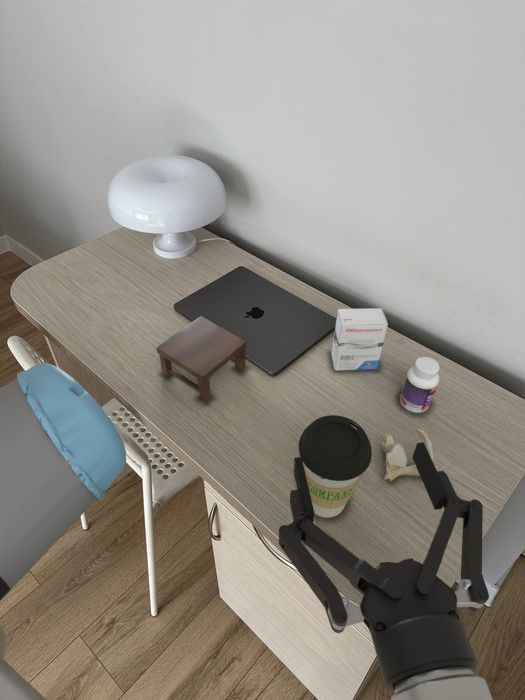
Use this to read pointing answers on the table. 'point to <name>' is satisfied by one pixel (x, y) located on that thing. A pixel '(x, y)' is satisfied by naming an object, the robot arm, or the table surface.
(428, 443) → the bone
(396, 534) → the table surface
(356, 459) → the coffee cup
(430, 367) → the pill bottle
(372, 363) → the ink box
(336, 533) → the table surface
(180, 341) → the small brown wooden table
